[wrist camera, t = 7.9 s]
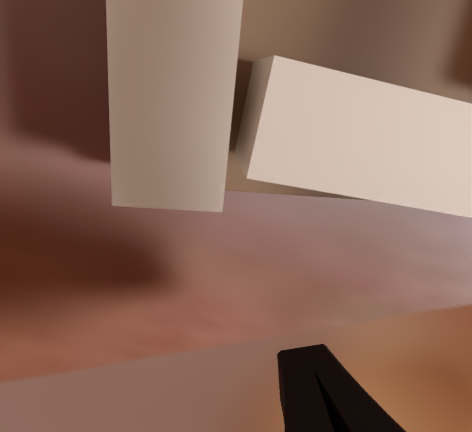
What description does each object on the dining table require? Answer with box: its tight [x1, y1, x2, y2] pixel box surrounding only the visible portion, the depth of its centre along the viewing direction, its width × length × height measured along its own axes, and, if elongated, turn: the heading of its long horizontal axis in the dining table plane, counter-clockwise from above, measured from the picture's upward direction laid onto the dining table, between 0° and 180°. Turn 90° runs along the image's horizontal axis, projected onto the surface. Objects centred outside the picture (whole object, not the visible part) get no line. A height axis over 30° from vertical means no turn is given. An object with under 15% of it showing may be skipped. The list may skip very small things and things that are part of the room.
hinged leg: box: [234, 55, 472, 218], centre depth 9 cm, size 10×2×3 cm, turn 78°
